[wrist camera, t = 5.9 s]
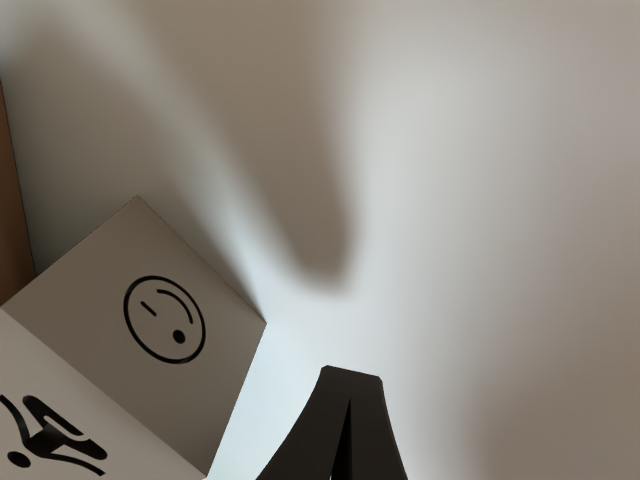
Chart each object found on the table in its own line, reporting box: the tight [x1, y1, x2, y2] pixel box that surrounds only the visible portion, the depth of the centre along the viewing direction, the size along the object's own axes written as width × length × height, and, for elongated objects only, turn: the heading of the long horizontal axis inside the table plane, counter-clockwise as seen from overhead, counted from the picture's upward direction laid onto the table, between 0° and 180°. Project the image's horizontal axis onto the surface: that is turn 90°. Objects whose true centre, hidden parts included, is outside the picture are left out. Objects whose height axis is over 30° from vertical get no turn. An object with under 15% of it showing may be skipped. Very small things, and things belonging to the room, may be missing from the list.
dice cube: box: [0, 195, 267, 480], centre depth 12 cm, size 5×5×5 cm
